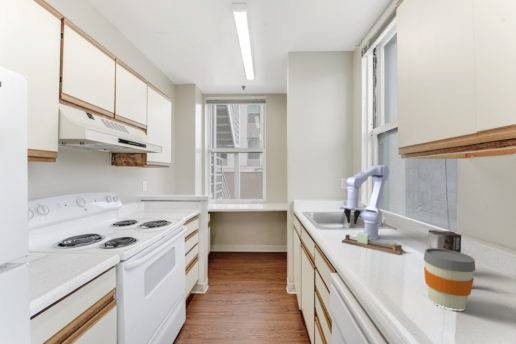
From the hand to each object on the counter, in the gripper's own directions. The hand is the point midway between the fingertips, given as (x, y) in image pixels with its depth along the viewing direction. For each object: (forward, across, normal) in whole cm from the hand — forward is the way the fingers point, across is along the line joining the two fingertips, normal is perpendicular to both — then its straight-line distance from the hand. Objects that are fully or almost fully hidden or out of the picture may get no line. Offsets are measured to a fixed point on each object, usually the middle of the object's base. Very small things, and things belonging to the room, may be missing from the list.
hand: (351, 223), depth 137 cm
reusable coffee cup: (+11, +44, -44) cm, 63 cm away
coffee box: (+11, +42, -14) cm, 45 cm away
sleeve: (+9, +7, 0) cm, 11 cm away
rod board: (+10, +11, 0) cm, 15 cm away
